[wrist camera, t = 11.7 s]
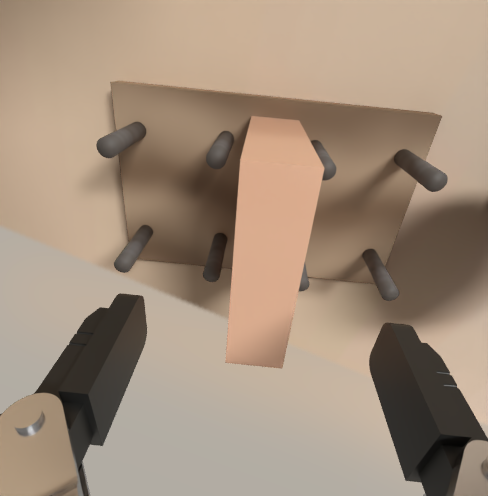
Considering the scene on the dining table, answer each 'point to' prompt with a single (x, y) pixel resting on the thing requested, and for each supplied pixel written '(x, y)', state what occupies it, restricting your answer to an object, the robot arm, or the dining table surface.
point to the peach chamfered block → (270, 238)
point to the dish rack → (227, 177)
